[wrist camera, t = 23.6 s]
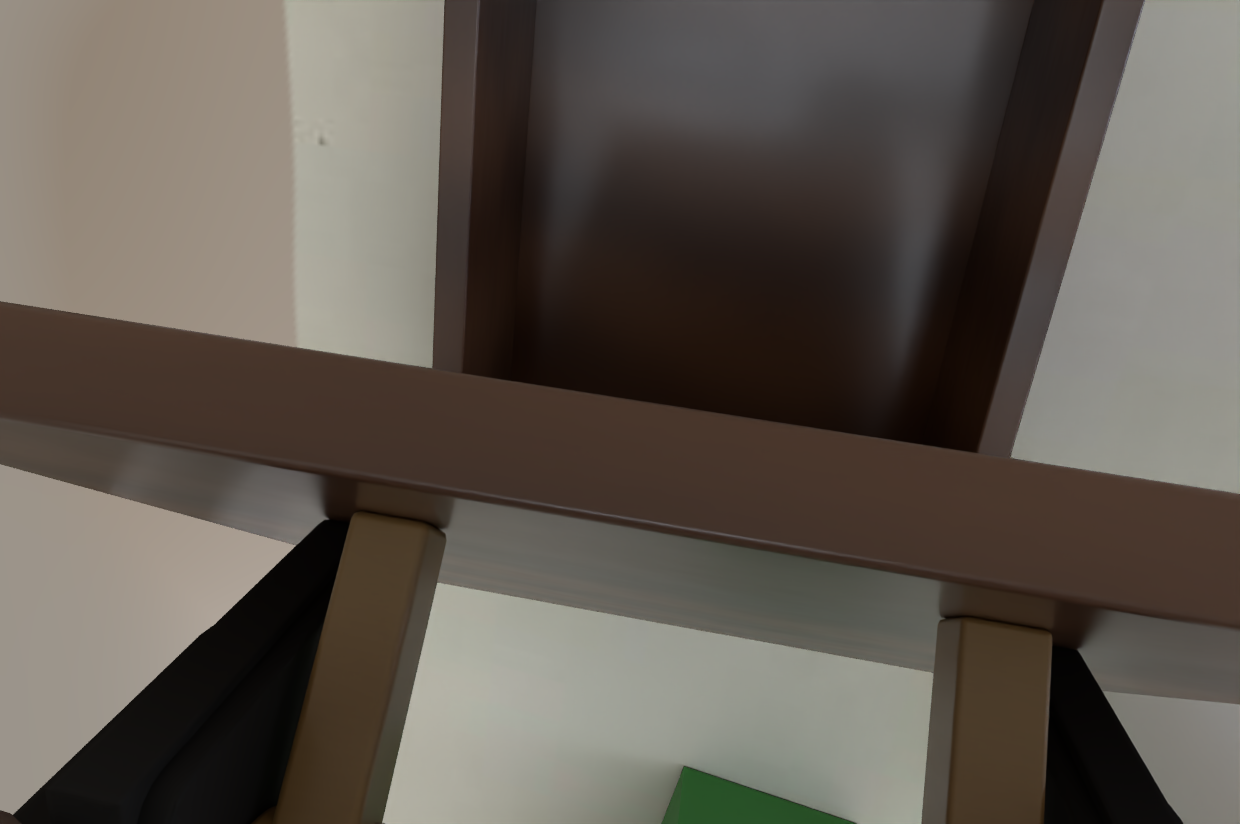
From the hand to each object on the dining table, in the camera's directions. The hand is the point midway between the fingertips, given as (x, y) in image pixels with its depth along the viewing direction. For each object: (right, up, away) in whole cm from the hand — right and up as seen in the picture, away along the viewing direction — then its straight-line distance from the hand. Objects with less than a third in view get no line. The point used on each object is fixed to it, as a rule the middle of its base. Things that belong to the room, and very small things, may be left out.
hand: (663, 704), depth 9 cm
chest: (+3, +9, +19) cm, 21 cm away
